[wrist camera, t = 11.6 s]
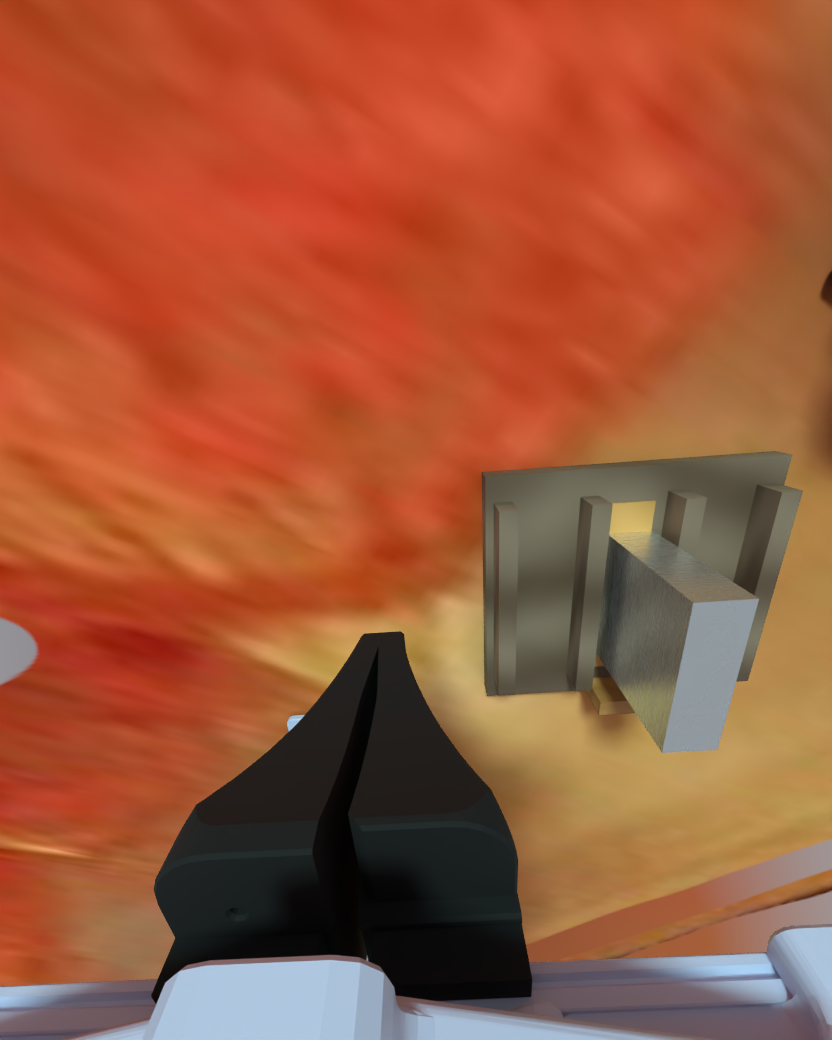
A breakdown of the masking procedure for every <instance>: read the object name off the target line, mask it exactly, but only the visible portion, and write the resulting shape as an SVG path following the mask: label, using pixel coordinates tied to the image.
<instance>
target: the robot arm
mask: <svg viewBox="0 0 832 1040" xmlns="http://www.w3.org/2000/svg"><path fill="white" fill-rule="evenodd" d="M287 726H288V730H289V732H288V733H287V734H286V735H285V736H284V737H283V738H282V739H281V740H280V741H279V742H278V743H277V744H276V745H275V746H273V747H272V748H271V749H270V750H269V751H268V752H267V753H265V754H264V755H263V756H262V757H261V758H259V759H258V760H257V761H256V762H255V763H253V764H252V765H251V766H250V767H248V768H247V769H246V770H245V771H243V772H242V773H241V774H239V775H238V776H237V777H235V778H234V779H233V780H231V781H230V782H229V783H227V784H226V785H224V786H223V787H221V788H220V789H219V790H217V791H216V792H214V793H213V794H212V795H210V796H209V797H207V798H206V799H204V800H203V801H201V802H200V803H198V804H197V805H196V806H195V808H194V809H193V811H192V813H191V814H190V816H189V818H188V819H187V821H186V822H185V824H184V826H183V827H182V829H181V831H180V833H179V835H178V836H177V838H176V840H175V842H174V844H173V846H172V848H171V850H170V852H169V854H168V856H167V858H166V860H165V862H164V864H163V866H162V867H161V869H160V871H159V873H158V875H157V877H156V879H155V885H154V892H155V896H156V899H157V902H158V905H159V907H160V909H161V911H162V913H163V915H164V917H165V919H166V921H167V923H168V924H169V926H170V928H171V930H172V932H173V934H174V936H175V940H174V943H173V945H172V947H171V950H170V952H169V954H168V957H167V959H166V961H165V964H164V966H163V968H162V971H161V973H160V976H159V978H158V979H150V980H128V981H105V982H83V983H60V984H37V985H15V986H0V1040H832V924H822V925H800V926H790V927H784V928H782V929H779V930H777V931H775V932H774V933H773V935H771V937H770V939H769V941H768V946H767V952H759V953H737V954H715V955H691V956H671V957H670V956H669V957H646V958H623V959H601V960H578V961H556V962H533V963H529V959H528V954H527V949H526V944H525V939H524V934H523V929H522V924H521V923H522V915H521V909H520V904H519V899H518V894H517V877H518V858H517V851H516V848H515V844H514V841H513V838H512V835H511V832H510V830H509V827H508V825H507V822H506V820H505V818H504V816H503V813H502V811H501V809H500V807H499V805H498V803H497V801H496V799H495V797H494V795H493V793H492V791H491V789H490V788H489V787H488V786H487V785H486V784H485V783H484V782H483V780H482V779H481V778H480V777H479V776H478V775H477V774H476V773H475V772H474V770H473V769H472V768H471V767H470V766H469V765H468V763H467V762H466V761H465V760H464V758H463V757H462V756H461V755H460V754H459V752H458V751H457V749H456V748H455V747H454V745H453V744H452V743H451V741H450V740H449V738H448V737H447V736H446V734H445V733H444V731H443V730H442V728H441V727H440V725H439V724H438V722H437V720H436V719H435V717H434V716H433V714H432V712H431V710H430V709H429V707H428V705H427V703H426V701H425V699H424V697H423V695H422V693H421V691H420V689H419V687H418V685H417V682H416V680H415V678H414V675H413V672H412V670H411V667H410V664H409V661H408V658H407V654H406V649H405V639H404V634H403V633H402V632H385V633H369V634H364V635H363V636H362V637H361V638H360V640H359V642H358V643H357V645H356V647H355V648H354V650H353V652H352V653H351V655H350V657H349V658H348V660H347V661H346V663H345V664H344V666H343V667H342V669H341V670H340V671H339V673H338V674H337V676H336V677H335V679H334V680H333V681H332V683H331V684H330V685H329V687H328V688H327V689H326V690H325V692H324V693H323V694H322V696H321V697H320V698H319V699H318V701H317V702H316V703H315V704H314V705H313V707H312V708H311V709H310V710H309V711H308V712H307V713H306V714H305V715H294V716H291V717H289V719H288V722H287Z"/></svg>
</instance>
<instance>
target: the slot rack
mask: <svg viewBox="0 0 832 1040" xmlns="http://www.w3.org/2000/svg"><path fill="white" fill-rule="evenodd" d="M791 457H792V455H791V454H786V453H781V452H776V451H773V452H759V453H745V454H731V455H717V456H703V457H689V458H676V459H662V460H648V461H634V462H620V463H606V464H592V465H578V466H564V467H550V468H536V469H522V470H508V471H494V472H482V515H483V594H484V673H485V688H486V693H487V696H494V695H499V696H500V695H515V694H528V693H545V692H562V691H585V690H586V692H587V694H588V696H589V698H590V699H591V701H592V703H593V705H594V707H595V709H596V710H597V712H598V714H599V715H608V714H626V713H635V711H634V710H633V708H632V707H631V705H630V704H629V702H628V701H627V699H626V698H625V696H624V695H623V693H622V692H621V690H620V689H619V687H618V686H617V684H616V683H615V681H614V680H613V678H612V676H611V675H610V673H609V672H608V670H607V669H606V667H605V666H604V664H603V663H602V661H601V660H600V658H599V657H598V655H597V654H596V649H597V640H598V631H599V622H600V613H601V604H602V595H603V586H604V578H605V569H606V560H607V551H608V542H609V534H613V533H628V532H643V531H654V532H655V533H657V534H658V535H660V536H662V537H663V538H665V539H666V540H668V541H669V542H671V543H673V544H674V545H676V546H677V547H679V548H680V549H682V550H684V551H685V552H687V553H688V554H690V555H691V556H693V557H694V558H696V559H698V560H699V561H701V562H702V563H704V564H705V565H707V566H709V567H710V568H712V569H713V570H715V571H716V572H718V573H720V574H721V575H723V576H724V577H726V578H727V579H729V580H731V581H732V582H734V583H735V584H737V585H738V586H740V587H742V588H743V589H745V590H746V591H748V592H749V593H751V594H753V595H754V596H756V597H757V598H759V601H758V605H757V608H756V612H755V616H754V619H753V623H752V626H751V630H750V634H749V637H748V641H747V644H746V648H745V652H744V655H743V659H742V662H741V666H740V670H739V673H738V677H737V680H736V682H737V681H748V678H749V675H750V671H751V668H752V664H753V661H754V657H755V654H756V650H757V647H758V644H759V640H760V637H761V633H762V630H763V626H764V623H765V619H766V616H767V613H768V609H769V606H770V602H771V599H772V595H773V592H774V588H775V585H776V581H777V578H778V575H779V571H780V568H781V564H782V561H783V557H784V554H785V550H786V547H787V544H788V540H789V537H790V533H791V530H792V526H793V523H794V519H795V516H796V512H797V509H798V506H799V502H800V499H801V495H802V492H803V491H801V490H798V489H794V488H791V487H787V486H784V483H785V479H786V475H787V472H788V468H789V464H790V461H791Z"/></svg>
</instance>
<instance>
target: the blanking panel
mask: <svg viewBox="0 0 832 1040" xmlns="http://www.w3.org/2000/svg"><path fill="white" fill-rule="evenodd" d="M758 601H759V598H757V597H756V596H754V595H753V594H751V593H749V592H748V591H746V590H745V589H743V588H742V587H740V586H738V585H737V584H735V583H734V582H732V581H731V580H729V579H727V578H726V577H724V576H723V575H721V574H720V573H718V572H716V571H715V570H713V569H712V568H710V567H709V566H707V565H705V564H704V563H702V562H701V561H699V560H698V559H696V558H694V557H693V556H691V555H690V554H688V553H687V552H685V551H684V550H682V549H680V548H679V547H677V546H676V545H674V544H673V543H671V542H669V541H668V540H666V539H665V538H663V537H662V536H660V535H658V534H657V533H655V532H654V531H643V532H628V533H613V534H609V542H608V551H607V560H606V569H605V578H604V586H603V595H602V604H601V613H600V622H599V631H598V640H597V649H596V654H597V655H598V657H599V658H600V660H601V661H602V663H603V664H604V666H605V667H606V669H607V670H608V672H609V673H610V675H611V676H612V678H613V680H614V681H615V683H616V684H617V686H618V687H619V689H620V690H621V692H622V693H623V695H624V696H625V698H626V699H627V701H628V702H629V704H630V705H631V707H632V708H633V710H634V711H635V713H636V714H637V716H638V717H639V719H640V720H641V722H642V723H643V725H644V726H645V728H646V729H647V731H648V732H649V734H650V735H651V737H652V738H653V740H654V741H655V743H656V744H657V746H658V747H659V749H660V750H661V752H662V753H667V752H685V751H704V750H717V749H718V745H719V742H720V738H721V734H722V731H723V727H724V724H725V720H726V716H727V713H728V709H729V706H730V702H731V698H732V695H733V691H734V688H735V684H736V680H737V677H738V673H739V670H740V666H741V662H742V659H743V655H744V652H745V648H746V644H747V641H748V637H749V634H750V630H751V626H752V623H753V619H754V616H755V612H756V608H757V605H758Z"/></svg>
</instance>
